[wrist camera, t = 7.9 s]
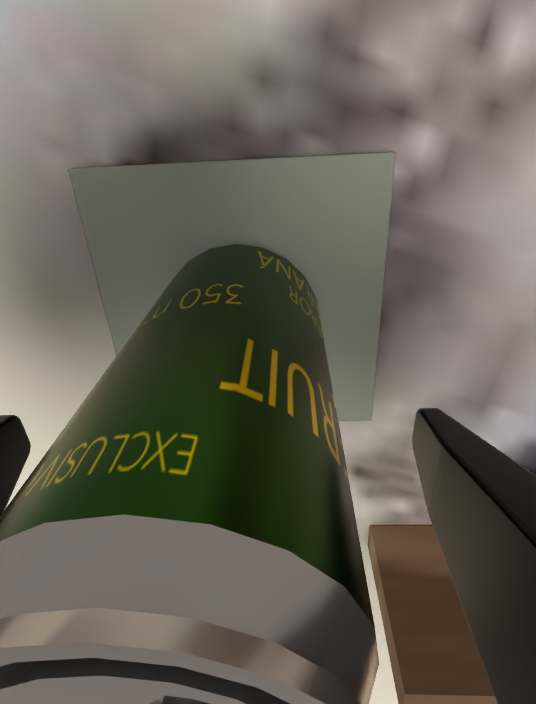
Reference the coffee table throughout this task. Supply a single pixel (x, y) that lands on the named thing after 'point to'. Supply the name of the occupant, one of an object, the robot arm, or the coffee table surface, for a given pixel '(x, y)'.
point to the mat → (251, 241)
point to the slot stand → (425, 620)
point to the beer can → (195, 514)
